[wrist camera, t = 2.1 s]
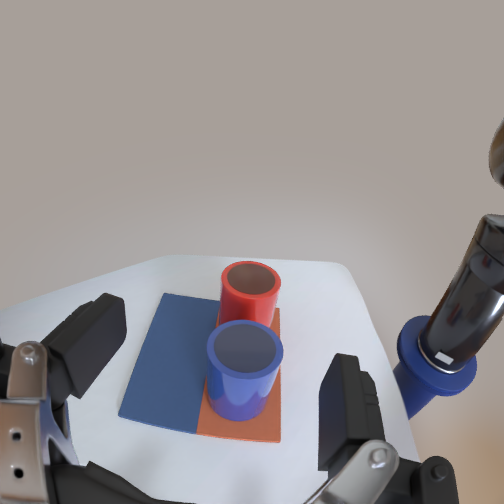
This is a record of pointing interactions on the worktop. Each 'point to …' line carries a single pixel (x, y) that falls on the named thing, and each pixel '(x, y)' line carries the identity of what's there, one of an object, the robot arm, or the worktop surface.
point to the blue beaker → (241, 368)
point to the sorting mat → (189, 376)
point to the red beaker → (248, 293)
